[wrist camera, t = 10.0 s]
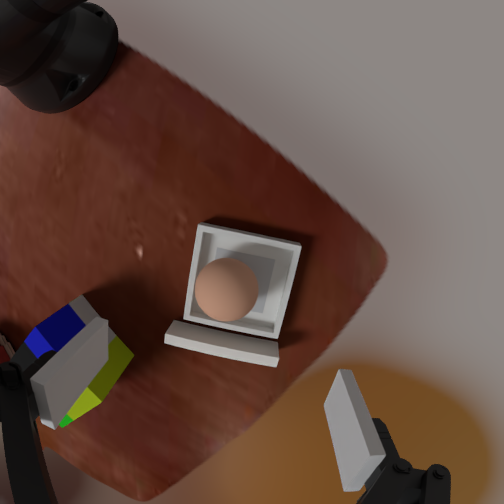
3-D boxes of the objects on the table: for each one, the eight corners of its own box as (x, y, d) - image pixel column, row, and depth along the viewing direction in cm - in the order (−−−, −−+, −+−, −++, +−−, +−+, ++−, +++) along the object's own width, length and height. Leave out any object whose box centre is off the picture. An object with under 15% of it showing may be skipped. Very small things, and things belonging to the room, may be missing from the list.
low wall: (173, 319, 34) (165, 333, 31) (277, 342, 34) (279, 357, 31) (172, 328, 34) (164, 343, 31) (275, 350, 35) (276, 367, 31)
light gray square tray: (201, 222, 32) (198, 224, 30) (299, 242, 32) (301, 246, 30) (187, 312, 34) (183, 319, 32) (277, 331, 34) (277, 339, 32)
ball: (220, 247, 33) (187, 254, 27) (273, 263, 30) (248, 275, 25) (210, 300, 34) (178, 315, 28) (260, 319, 32) (234, 340, 26)
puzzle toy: (82, 294, 34) (35, 326, 24) (134, 354, 36) (102, 401, 26) (47, 332, 36) (6, 365, 26) (94, 385, 37) (62, 427, 27)
